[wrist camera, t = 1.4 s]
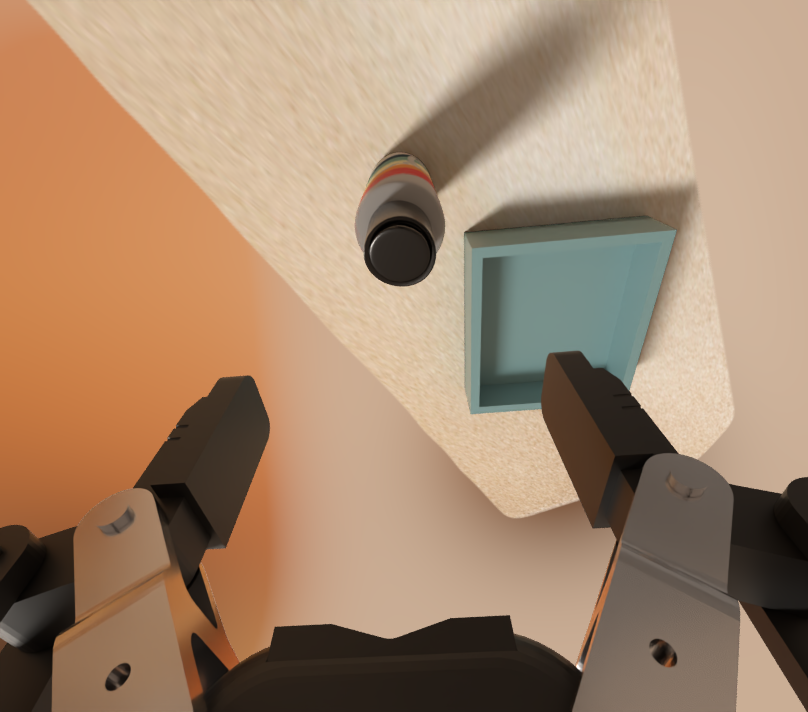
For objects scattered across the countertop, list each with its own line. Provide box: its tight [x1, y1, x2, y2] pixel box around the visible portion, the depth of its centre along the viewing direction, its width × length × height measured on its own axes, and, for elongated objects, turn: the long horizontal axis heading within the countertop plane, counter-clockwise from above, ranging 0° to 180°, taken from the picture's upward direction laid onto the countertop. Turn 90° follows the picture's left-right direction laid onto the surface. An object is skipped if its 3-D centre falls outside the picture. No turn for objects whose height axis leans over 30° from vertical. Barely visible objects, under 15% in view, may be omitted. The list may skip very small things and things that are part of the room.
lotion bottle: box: [355, 152, 445, 286], centre depth 28 cm, size 6×6×20 cm
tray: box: [464, 216, 677, 414], centre depth 42 cm, size 20×18×5 cm
